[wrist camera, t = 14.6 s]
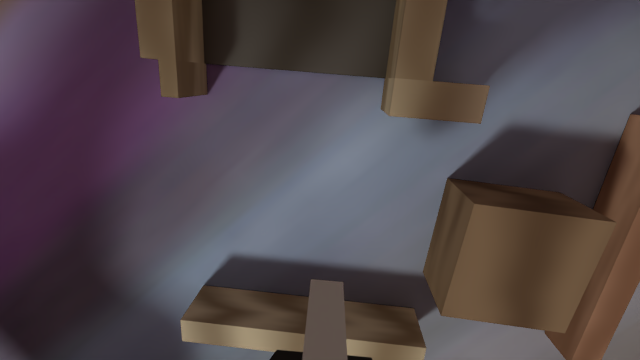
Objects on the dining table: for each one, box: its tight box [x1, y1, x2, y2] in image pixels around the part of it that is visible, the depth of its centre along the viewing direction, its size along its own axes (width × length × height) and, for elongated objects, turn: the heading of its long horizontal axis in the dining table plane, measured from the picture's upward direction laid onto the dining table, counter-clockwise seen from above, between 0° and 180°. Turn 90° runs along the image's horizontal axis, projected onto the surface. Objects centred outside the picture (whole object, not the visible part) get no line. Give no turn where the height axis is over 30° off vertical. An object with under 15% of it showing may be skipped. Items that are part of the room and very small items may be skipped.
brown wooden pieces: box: [135, 0, 640, 360], centre depth 20 cm, size 32×27×4 cm
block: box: [423, 178, 617, 333], centre depth 21 cm, size 8×8×5 cm
